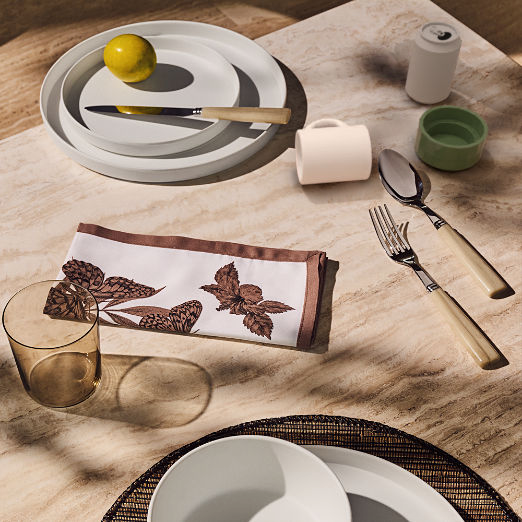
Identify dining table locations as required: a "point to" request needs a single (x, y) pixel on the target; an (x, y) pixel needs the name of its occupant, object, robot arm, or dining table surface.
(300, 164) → the mug
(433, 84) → the can
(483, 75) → the dining table surface
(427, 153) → the bowl
